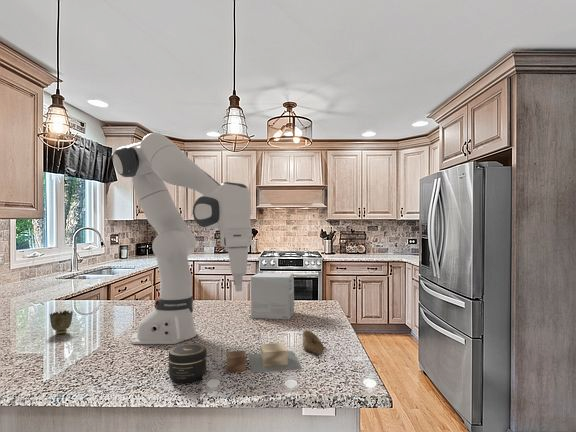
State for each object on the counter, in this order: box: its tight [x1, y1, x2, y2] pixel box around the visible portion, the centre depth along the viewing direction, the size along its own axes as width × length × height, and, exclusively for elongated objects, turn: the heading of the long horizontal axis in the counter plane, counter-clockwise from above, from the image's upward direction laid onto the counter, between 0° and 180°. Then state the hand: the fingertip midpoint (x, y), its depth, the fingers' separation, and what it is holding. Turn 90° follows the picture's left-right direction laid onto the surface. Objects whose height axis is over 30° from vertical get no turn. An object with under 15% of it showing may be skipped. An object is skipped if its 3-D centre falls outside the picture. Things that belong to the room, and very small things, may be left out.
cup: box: [49, 309, 73, 336], centre depth 140 cm, size 8×7×8 cm
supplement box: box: [250, 272, 295, 320], centre depth 165 cm, size 17×13×18 cm
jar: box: [167, 343, 208, 385], centre depth 100 cm, size 10×10×8 cm
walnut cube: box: [226, 350, 247, 374], centre depth 103 cm, size 5×5×5 cm
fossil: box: [302, 330, 325, 356], centre depth 118 cm, size 9×4×10 cm
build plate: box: [247, 350, 303, 374], centre depth 108 cm, size 14×14×1 cm
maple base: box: [260, 342, 288, 367], centre depth 108 cm, size 7×7×4 cm
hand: (237, 287), depth 105 cm, fingers open, 8 cm apart
